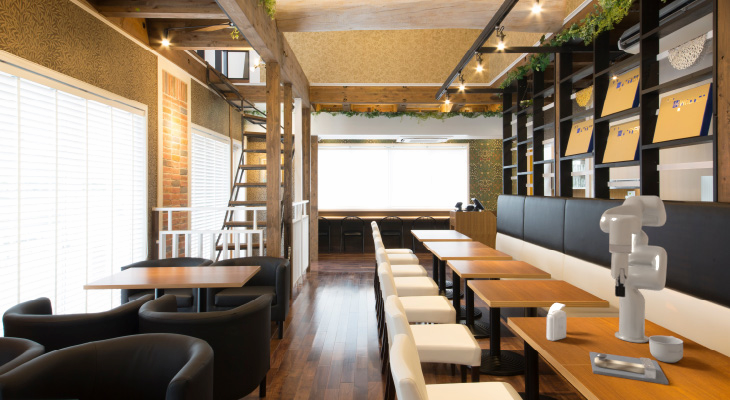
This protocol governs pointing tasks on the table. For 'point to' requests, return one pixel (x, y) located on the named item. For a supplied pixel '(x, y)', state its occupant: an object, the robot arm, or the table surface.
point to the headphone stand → (556, 307)
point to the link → (617, 364)
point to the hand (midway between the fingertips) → (620, 296)
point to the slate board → (627, 374)
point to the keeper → (648, 368)
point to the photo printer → (556, 325)
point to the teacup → (666, 348)
